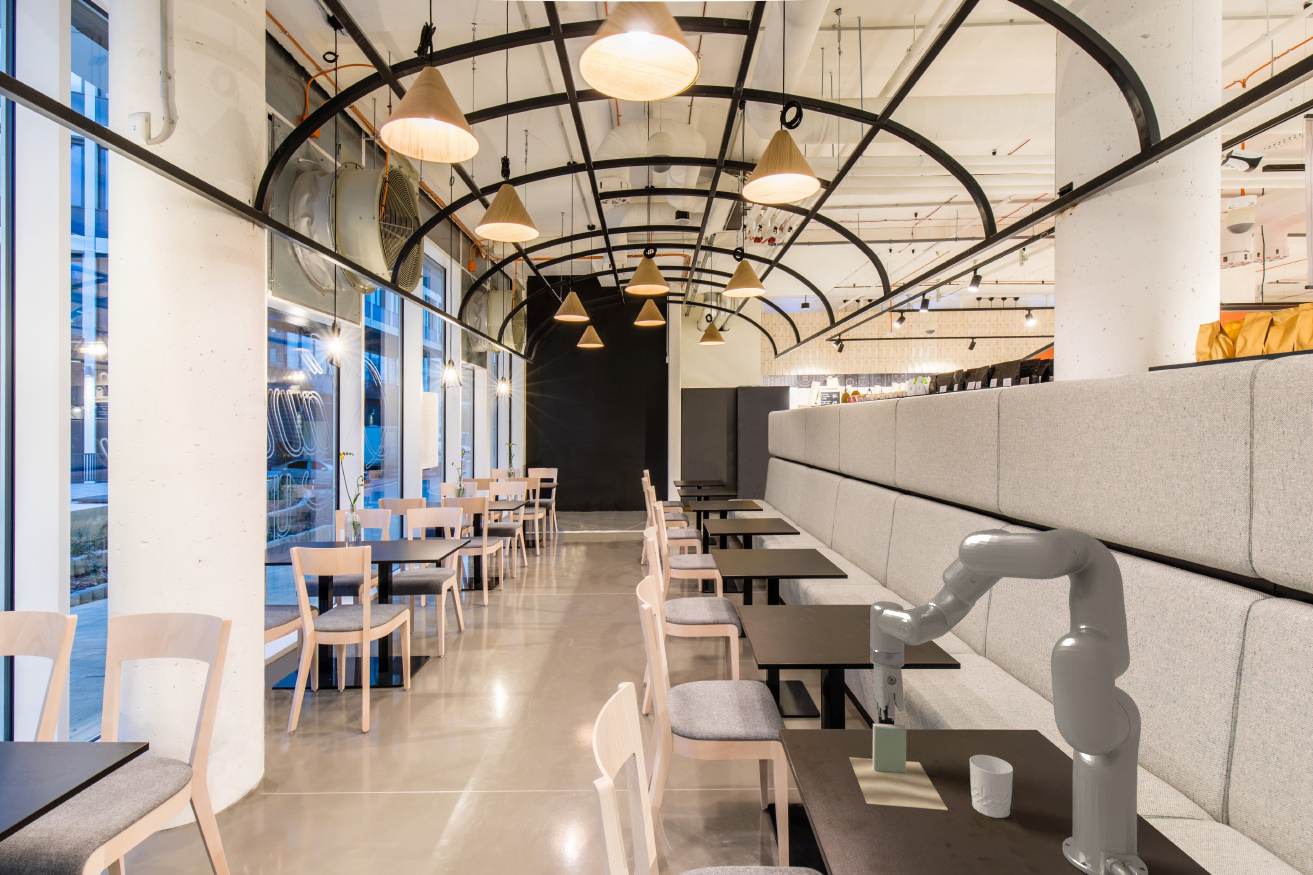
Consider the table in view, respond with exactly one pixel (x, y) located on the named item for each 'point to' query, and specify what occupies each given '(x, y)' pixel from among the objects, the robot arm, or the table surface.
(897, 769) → the tile
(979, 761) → the white cup
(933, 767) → the table surface
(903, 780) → the board
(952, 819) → the table surface
